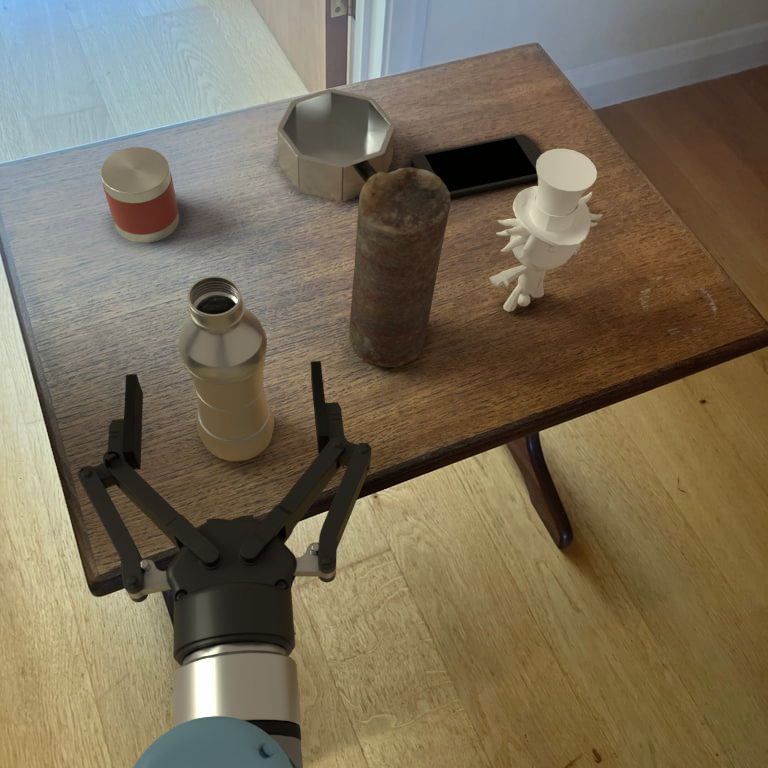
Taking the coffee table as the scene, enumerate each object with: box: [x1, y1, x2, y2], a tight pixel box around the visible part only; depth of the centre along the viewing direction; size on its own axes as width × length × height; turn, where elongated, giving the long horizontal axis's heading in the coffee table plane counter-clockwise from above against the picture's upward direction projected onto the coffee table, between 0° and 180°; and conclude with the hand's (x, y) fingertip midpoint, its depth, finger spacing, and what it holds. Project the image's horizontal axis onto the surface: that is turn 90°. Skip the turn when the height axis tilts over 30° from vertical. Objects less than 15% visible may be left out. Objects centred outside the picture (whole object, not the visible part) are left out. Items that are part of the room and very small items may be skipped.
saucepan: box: [276, 88, 396, 203], centre depth 90 cm, size 18×12×5 cm, turn 30°
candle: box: [348, 166, 452, 368], centre depth 71 cm, size 8×7×20 cm
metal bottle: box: [177, 275, 275, 462], centre depth 65 cm, size 6×7×20 cm
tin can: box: [100, 146, 180, 244], centre depth 84 cm, size 7×7×7 cm
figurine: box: [489, 148, 604, 313], centre depth 76 cm, size 10×8×18 cm
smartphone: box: [410, 134, 542, 199], centre depth 94 cm, size 7×15×1 cm, turn 109°
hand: (226, 377), depth 62 cm, fingers open, 13 cm apart
